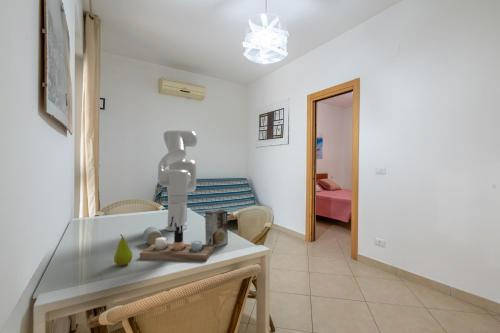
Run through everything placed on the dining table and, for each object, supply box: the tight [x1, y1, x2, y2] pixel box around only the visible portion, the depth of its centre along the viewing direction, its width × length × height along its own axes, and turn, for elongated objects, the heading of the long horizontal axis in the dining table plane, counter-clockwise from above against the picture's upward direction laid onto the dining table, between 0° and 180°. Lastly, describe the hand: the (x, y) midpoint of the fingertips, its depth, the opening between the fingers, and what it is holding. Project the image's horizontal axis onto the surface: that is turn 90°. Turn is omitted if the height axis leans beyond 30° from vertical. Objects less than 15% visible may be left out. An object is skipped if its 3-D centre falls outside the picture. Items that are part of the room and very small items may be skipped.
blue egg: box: [190, 240, 203, 252], centre depth 97 cm, size 4×4×4 cm
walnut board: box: [139, 242, 215, 262], centre depth 98 cm, size 12×28×2 cm, turn 84°
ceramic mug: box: [142, 226, 168, 246], centre depth 113 cm, size 11×8×8 cm
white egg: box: [155, 236, 167, 250], centre depth 99 cm, size 4×4×4 cm
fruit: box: [113, 233, 133, 267], centre depth 88 cm, size 6×6×12 cm
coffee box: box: [204, 209, 229, 249], centre depth 111 cm, size 9×6×16 cm
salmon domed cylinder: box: [172, 240, 185, 251], centre depth 98 cm, size 4×4×4 cm
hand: (178, 241), depth 98 cm, fingers closed
